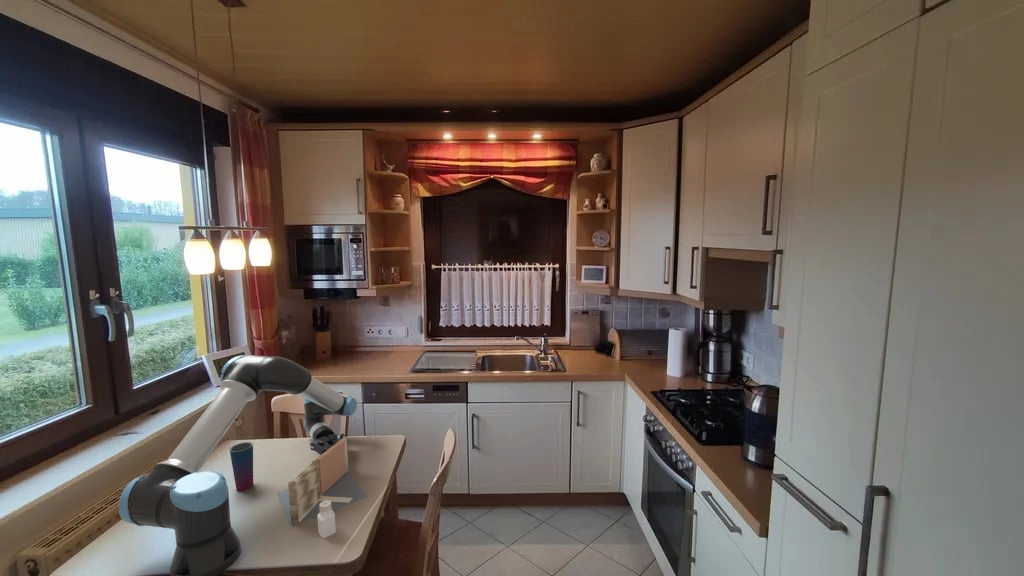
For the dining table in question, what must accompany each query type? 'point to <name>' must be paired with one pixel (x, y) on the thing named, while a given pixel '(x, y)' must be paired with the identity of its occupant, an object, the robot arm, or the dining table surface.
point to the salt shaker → (326, 519)
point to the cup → (242, 465)
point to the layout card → (327, 497)
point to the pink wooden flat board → (333, 465)
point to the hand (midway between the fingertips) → (340, 457)
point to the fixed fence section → (304, 491)
